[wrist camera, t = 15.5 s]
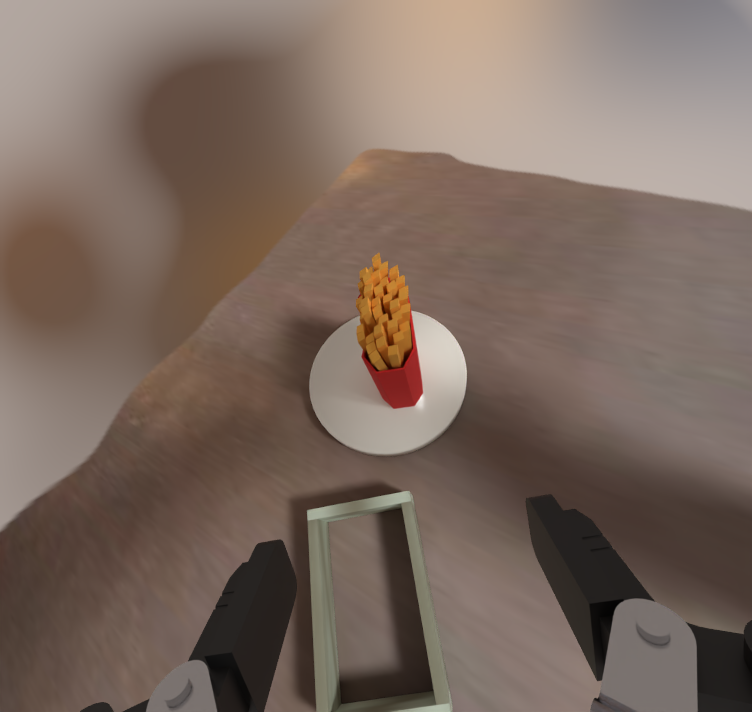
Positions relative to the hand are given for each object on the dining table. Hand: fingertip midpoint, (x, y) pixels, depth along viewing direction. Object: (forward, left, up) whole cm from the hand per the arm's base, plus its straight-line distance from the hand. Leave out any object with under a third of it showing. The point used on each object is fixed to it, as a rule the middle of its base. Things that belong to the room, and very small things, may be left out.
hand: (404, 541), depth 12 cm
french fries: (0, -15, -19) cm, 25 cm away
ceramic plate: (+1, -16, -21) cm, 26 cm away
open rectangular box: (+5, +2, -21) cm, 21 cm away
